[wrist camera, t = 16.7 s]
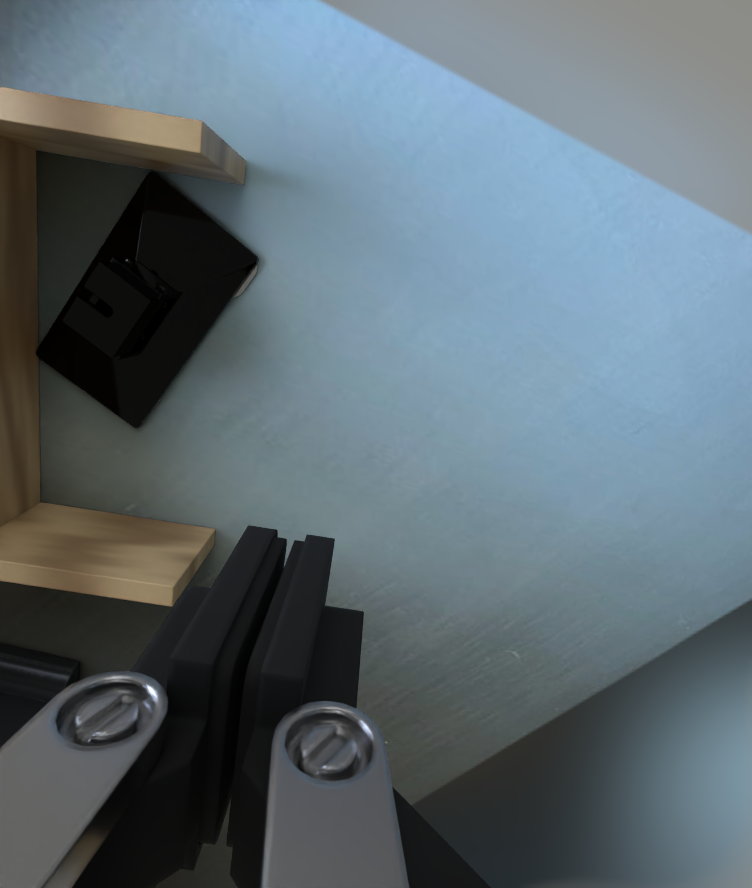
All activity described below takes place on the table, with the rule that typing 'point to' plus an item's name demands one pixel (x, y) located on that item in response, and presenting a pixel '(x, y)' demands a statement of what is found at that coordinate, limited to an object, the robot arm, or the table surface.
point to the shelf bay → (17, 366)
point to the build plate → (147, 301)
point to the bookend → (29, 685)
